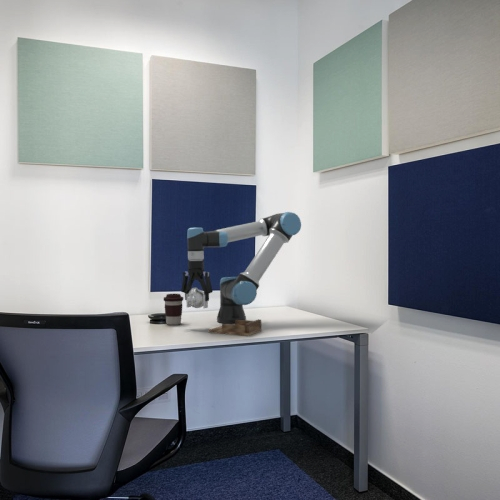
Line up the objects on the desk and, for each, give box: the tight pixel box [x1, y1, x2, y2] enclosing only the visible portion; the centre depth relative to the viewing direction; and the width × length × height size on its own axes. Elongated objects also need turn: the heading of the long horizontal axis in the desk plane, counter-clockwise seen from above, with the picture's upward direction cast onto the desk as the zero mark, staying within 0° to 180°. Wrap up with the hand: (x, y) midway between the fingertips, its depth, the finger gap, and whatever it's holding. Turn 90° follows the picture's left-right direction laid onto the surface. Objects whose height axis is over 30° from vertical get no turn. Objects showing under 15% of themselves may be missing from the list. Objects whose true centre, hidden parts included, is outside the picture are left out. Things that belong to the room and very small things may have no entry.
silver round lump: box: [186, 287, 204, 309], centre depth 225 cm, size 9×10×10 cm
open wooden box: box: [208, 319, 262, 337], centre depth 218 cm, size 20×14×5 cm
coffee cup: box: [163, 293, 184, 326], centre depth 239 cm, size 10×10×15 cm
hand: (197, 307), depth 225 cm, fingers closed on silver round lump, 9 cm apart
